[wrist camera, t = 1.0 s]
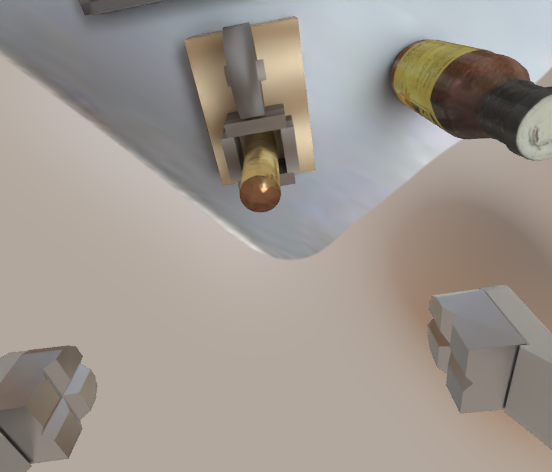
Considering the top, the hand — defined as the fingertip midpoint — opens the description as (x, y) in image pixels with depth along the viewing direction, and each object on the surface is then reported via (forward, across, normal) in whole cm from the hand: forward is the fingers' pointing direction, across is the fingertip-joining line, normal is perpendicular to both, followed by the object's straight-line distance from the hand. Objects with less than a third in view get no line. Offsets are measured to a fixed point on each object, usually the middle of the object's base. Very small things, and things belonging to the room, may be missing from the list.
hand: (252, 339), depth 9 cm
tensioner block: (+35, +1, +1) cm, 35 cm away
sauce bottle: (+35, -16, +1) cm, 38 cm away
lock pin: (+31, +1, +4) cm, 31 cm away
